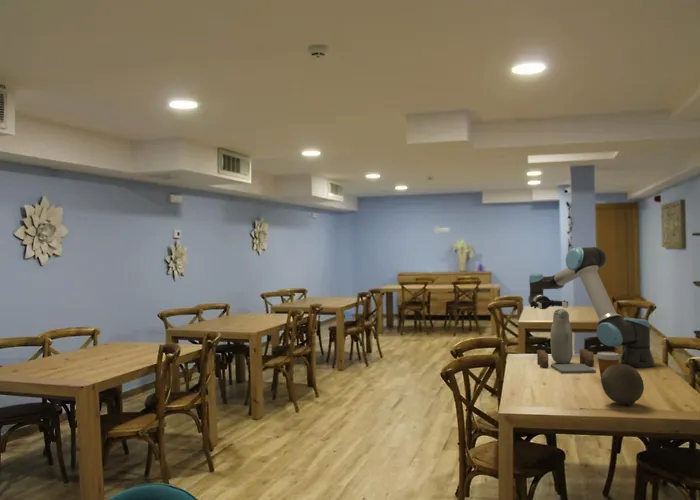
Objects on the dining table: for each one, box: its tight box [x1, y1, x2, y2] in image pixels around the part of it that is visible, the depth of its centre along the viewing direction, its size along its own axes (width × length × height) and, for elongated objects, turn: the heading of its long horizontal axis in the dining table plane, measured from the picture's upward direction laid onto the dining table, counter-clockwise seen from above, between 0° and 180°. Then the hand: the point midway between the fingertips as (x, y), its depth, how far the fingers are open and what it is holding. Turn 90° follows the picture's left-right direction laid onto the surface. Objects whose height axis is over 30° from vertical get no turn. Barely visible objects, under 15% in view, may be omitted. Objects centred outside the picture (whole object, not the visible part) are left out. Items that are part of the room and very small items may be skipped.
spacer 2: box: [539, 352, 550, 369], centre depth 285 cm, size 4×4×7 cm
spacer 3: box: [579, 348, 589, 365], centre depth 293 cm, size 4×4×7 cm
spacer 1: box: [536, 349, 546, 366], centre depth 293 cm, size 4×4×7 cm
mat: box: [550, 363, 597, 375], centre depth 278 cm, size 16×16×1 cm
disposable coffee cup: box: [596, 351, 621, 378], centre depth 253 cm, size 10×10×12 cm
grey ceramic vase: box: [550, 308, 573, 364], centre depth 293 cm, size 10×10×28 cm
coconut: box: [600, 363, 645, 406], centre depth 214 cm, size 14×14×15 cm
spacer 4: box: [584, 350, 595, 368], centre depth 286 cm, size 4×4×7 cm
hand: (553, 305), depth 303 cm, fingers open, 13 cm apart
